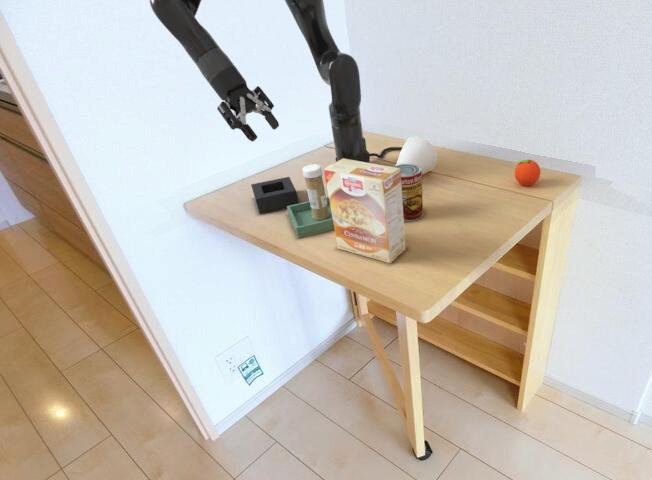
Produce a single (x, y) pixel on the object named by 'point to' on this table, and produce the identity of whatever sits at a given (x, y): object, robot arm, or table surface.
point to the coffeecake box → (367, 208)
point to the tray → (308, 220)
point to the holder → (274, 194)
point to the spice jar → (316, 191)
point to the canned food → (411, 191)
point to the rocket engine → (418, 154)
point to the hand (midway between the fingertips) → (266, 133)
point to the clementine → (527, 172)
